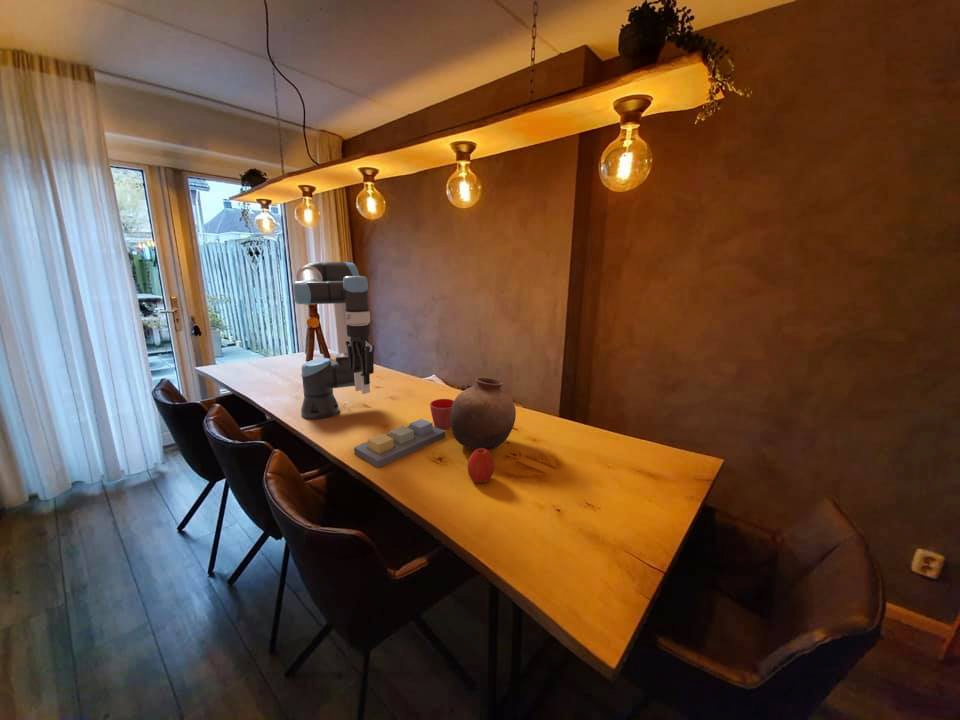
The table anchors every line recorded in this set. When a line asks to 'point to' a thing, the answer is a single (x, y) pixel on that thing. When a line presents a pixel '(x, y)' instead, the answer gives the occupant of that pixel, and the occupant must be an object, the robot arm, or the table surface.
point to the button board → (399, 448)
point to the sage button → (402, 435)
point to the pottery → (482, 415)
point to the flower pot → (441, 412)
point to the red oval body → (480, 466)
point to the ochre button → (380, 444)
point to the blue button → (421, 427)
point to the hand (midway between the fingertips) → (362, 391)
